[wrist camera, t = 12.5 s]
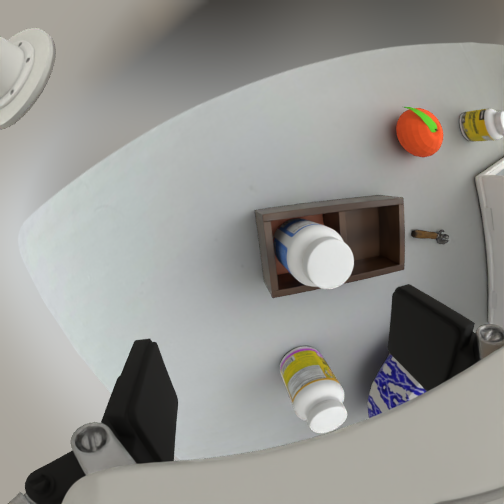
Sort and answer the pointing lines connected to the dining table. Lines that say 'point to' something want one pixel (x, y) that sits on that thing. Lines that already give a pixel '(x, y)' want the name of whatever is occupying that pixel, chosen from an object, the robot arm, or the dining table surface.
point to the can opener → (431, 235)
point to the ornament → (392, 387)
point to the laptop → (493, 236)
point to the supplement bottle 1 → (313, 389)
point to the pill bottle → (313, 253)
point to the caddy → (348, 227)
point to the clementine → (419, 132)
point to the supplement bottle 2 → (482, 125)
